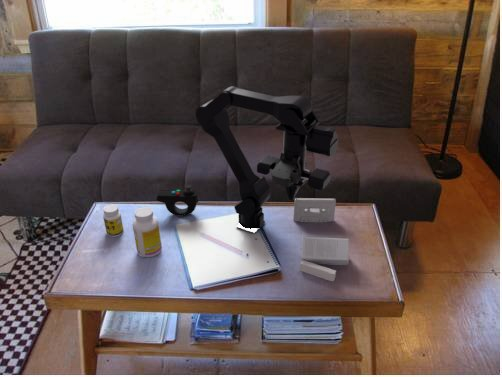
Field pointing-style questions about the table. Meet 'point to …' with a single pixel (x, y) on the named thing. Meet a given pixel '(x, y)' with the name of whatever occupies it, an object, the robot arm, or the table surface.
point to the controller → (179, 200)
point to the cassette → (307, 215)
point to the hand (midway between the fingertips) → (291, 199)
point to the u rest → (317, 270)
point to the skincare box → (325, 250)
